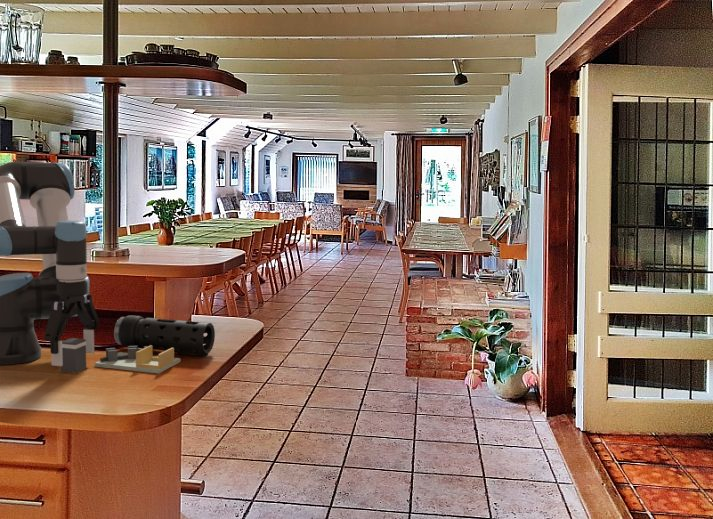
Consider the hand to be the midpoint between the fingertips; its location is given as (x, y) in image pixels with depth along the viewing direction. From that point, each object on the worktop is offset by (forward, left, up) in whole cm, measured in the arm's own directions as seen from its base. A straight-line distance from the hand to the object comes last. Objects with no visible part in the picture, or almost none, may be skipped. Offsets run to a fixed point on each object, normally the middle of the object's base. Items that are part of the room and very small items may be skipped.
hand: (73, 359), depth 186 cm
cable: (+9, +10, -2) cm, 14 cm away
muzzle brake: (+13, +24, -3) cm, 28 cm away
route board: (+13, +11, -3) cm, 17 cm away
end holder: (+19, +9, -3) cm, 21 cm away
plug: (0, 0, -3) cm, 3 cm away
